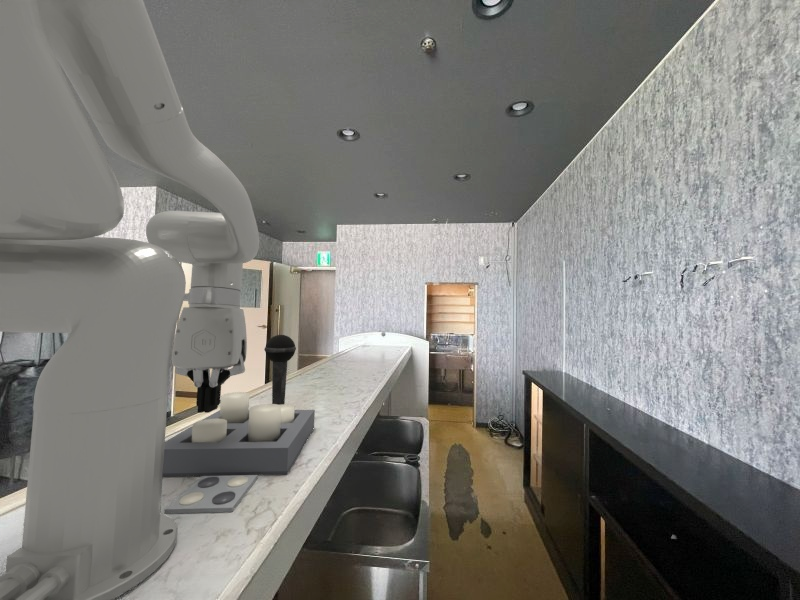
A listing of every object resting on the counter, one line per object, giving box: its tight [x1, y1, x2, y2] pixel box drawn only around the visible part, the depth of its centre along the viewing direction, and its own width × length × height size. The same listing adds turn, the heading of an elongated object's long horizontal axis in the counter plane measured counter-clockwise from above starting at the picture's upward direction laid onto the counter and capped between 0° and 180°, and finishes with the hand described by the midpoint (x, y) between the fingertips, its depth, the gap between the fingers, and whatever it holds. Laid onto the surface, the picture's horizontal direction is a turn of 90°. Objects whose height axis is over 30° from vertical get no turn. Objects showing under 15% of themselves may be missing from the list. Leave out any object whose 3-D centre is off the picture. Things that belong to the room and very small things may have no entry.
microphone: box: [264, 334, 297, 405], centre depth 71 cm, size 7×7×20 cm
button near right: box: [248, 403, 281, 442], centre depth 53 cm, size 5×5×5 cm
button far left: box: [219, 391, 250, 423], centre depth 61 cm, size 5×5×5 cm
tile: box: [163, 475, 259, 515], centre depth 42 cm, size 8×8×1 cm
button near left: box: [191, 419, 227, 443], centre depth 52 cm, size 5×5×5 cm
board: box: [163, 409, 315, 478], centre depth 57 cm, size 20×20×4 cm
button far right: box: [280, 403, 296, 423], centre depth 62 cm, size 5×5×5 cm
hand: (207, 410), depth 51 cm, fingers closed
